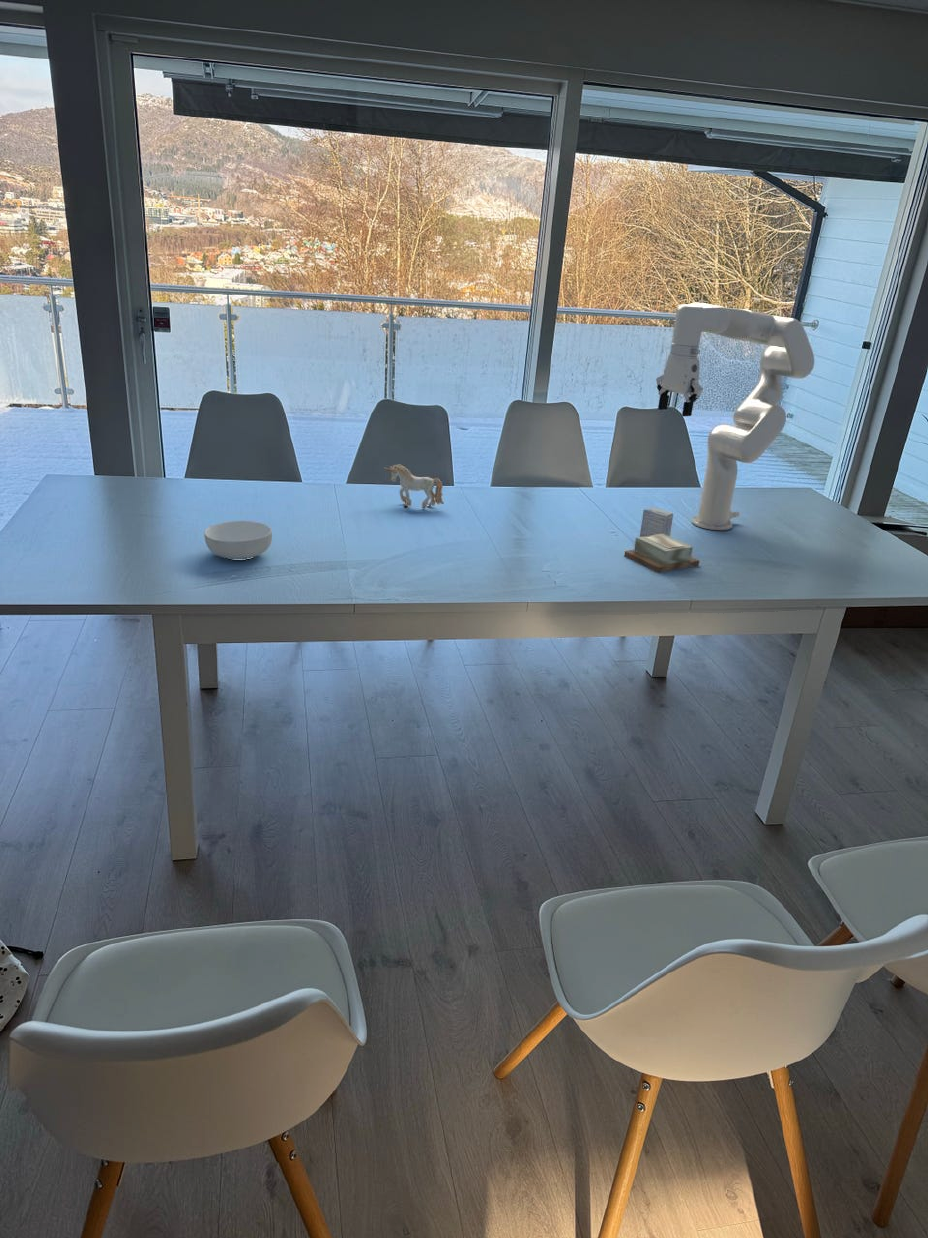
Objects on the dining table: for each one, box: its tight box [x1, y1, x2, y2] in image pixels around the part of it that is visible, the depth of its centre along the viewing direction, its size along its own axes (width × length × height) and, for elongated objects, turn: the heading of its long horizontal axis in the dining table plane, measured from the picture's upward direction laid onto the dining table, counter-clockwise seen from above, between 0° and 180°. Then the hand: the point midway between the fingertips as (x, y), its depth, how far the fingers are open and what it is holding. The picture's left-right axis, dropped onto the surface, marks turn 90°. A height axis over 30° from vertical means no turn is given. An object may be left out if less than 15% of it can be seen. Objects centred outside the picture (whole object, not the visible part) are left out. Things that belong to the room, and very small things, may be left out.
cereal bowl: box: [203, 520, 273, 559], centre depth 229 cm, size 17×17×7 cm
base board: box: [624, 534, 700, 574], centre depth 246 cm, size 15×14×6 cm
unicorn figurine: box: [383, 463, 445, 509], centre depth 277 cm, size 7×20×13 cm, turn 100°
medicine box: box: [639, 506, 674, 537], centre depth 263 cm, size 8×4×9 cm, turn 47°
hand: (674, 412), depth 255 cm, fingers open, 9 cm apart
